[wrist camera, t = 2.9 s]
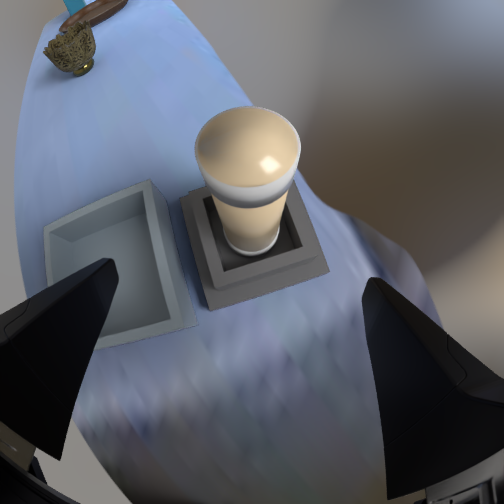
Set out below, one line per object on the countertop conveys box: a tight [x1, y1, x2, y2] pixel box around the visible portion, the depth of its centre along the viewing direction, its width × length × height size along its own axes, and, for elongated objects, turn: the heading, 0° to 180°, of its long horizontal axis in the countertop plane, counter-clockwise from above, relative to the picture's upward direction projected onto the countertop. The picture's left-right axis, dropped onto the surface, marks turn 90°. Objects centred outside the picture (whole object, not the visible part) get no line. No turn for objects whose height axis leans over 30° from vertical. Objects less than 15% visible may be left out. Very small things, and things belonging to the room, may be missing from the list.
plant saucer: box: [59, 0, 128, 33], centre depth 32 cm, size 18×18×3 cm
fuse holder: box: [180, 179, 330, 311], centre depth 19 cm, size 9×9×4 cm
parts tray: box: [44, 179, 198, 351], centre depth 18 cm, size 10×10×4 cm
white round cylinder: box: [195, 106, 301, 258], centre depth 14 cm, size 4×4×11 cm
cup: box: [43, 20, 96, 76], centre depth 23 cm, size 8×7×8 cm
